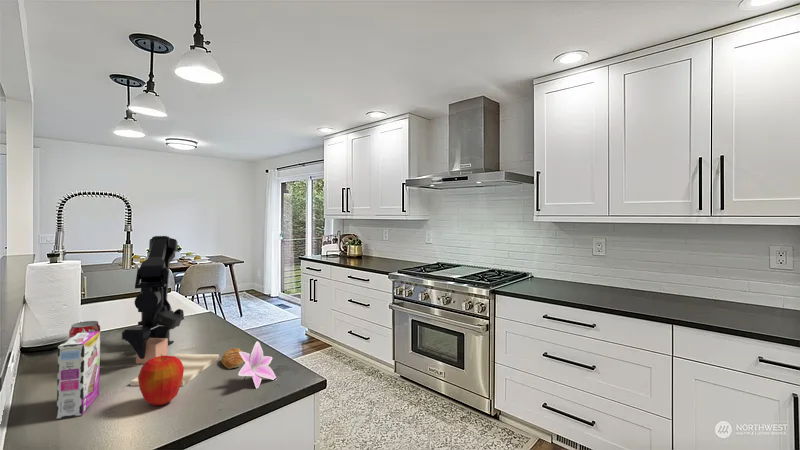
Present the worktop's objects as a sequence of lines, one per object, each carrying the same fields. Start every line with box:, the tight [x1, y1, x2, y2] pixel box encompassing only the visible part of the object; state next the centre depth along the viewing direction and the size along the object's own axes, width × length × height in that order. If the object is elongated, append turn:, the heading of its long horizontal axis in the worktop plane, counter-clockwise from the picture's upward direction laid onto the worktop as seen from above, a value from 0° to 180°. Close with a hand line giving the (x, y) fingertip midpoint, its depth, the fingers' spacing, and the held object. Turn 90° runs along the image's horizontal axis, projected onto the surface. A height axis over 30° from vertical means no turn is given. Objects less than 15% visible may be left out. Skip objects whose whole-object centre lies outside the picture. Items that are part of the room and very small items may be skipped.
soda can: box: [68, 320, 102, 361], centre depth 111 cm, size 7×7×13 cm
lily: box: [237, 340, 277, 389], centre depth 103 cm, size 12×12×10 cm
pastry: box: [221, 347, 245, 370], centre depth 115 cm, size 9×7×4 cm
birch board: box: [129, 353, 220, 387], centre depth 109 cm, size 20×14×1 cm
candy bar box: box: [56, 330, 101, 420], centre depth 88 cm, size 11×5×16 cm, turn 23°
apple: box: [137, 354, 184, 406], centre depth 90 cm, size 9×9×12 cm
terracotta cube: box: [135, 338, 169, 365], centre depth 117 cm, size 6×6×6 cm
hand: (152, 353), depth 117 cm, fingers open, 9 cm apart
